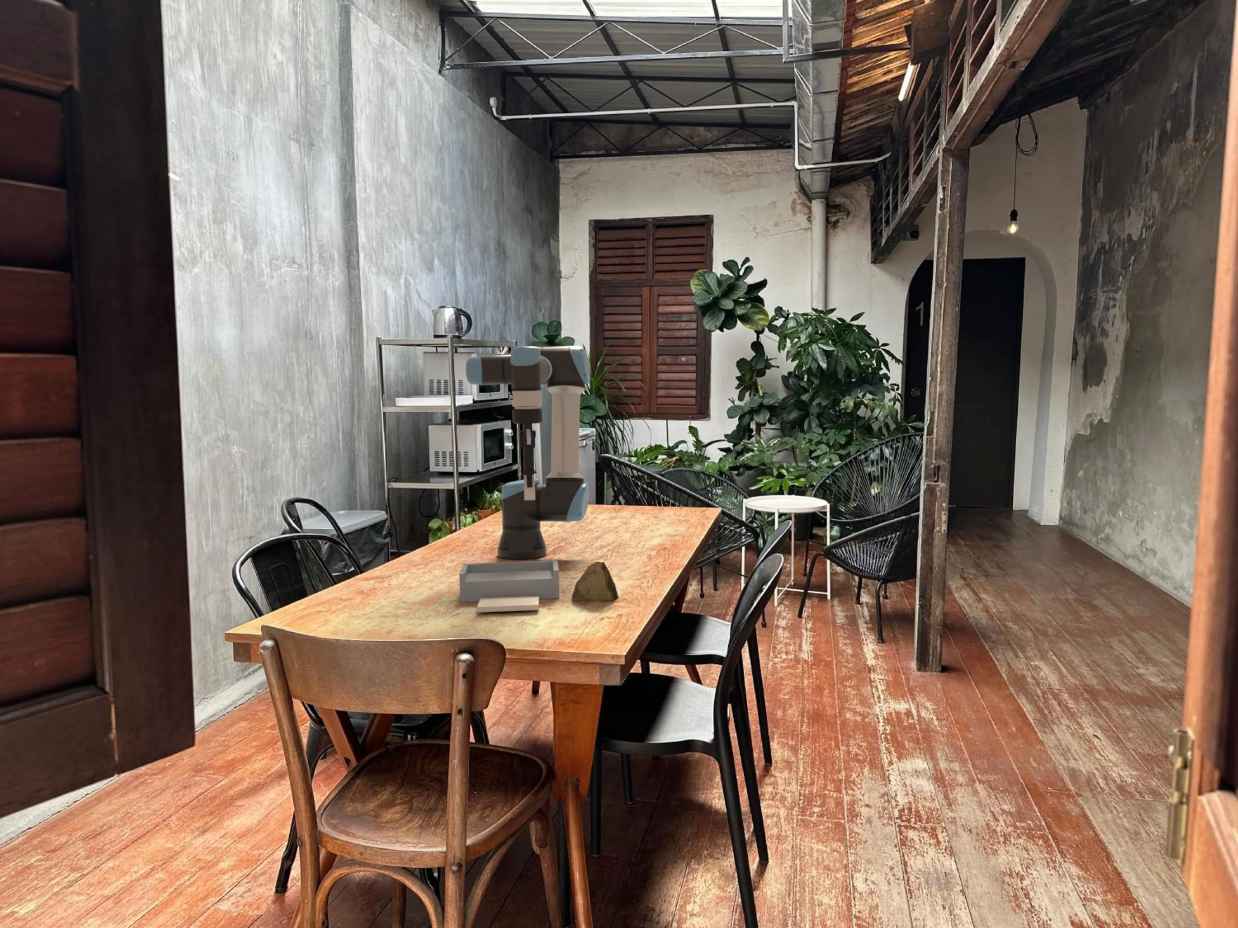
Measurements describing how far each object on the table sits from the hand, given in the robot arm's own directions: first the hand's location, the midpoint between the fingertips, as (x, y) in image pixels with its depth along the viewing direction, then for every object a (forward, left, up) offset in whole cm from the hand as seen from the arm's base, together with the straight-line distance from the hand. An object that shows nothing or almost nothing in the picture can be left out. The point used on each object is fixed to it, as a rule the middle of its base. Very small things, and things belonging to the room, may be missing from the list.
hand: (529, 499), depth 218 cm
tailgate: (+14, -5, -23) cm, 27 cm away
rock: (+15, +15, -23) cm, 31 cm away
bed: (+7, -5, -23) cm, 24 cm away
